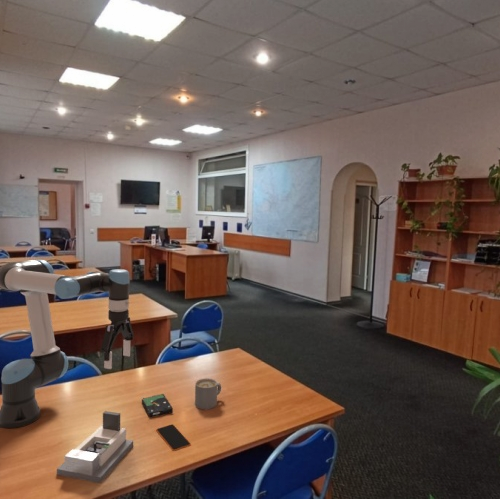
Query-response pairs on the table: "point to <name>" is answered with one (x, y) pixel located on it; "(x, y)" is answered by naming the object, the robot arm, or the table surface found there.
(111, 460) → the bench
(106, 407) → the table surface
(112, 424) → the plunger
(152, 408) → the disk drive
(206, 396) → the coffee mug
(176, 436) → the smartphone
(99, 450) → the dark grey angular piece
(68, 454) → the brushed metal slab
